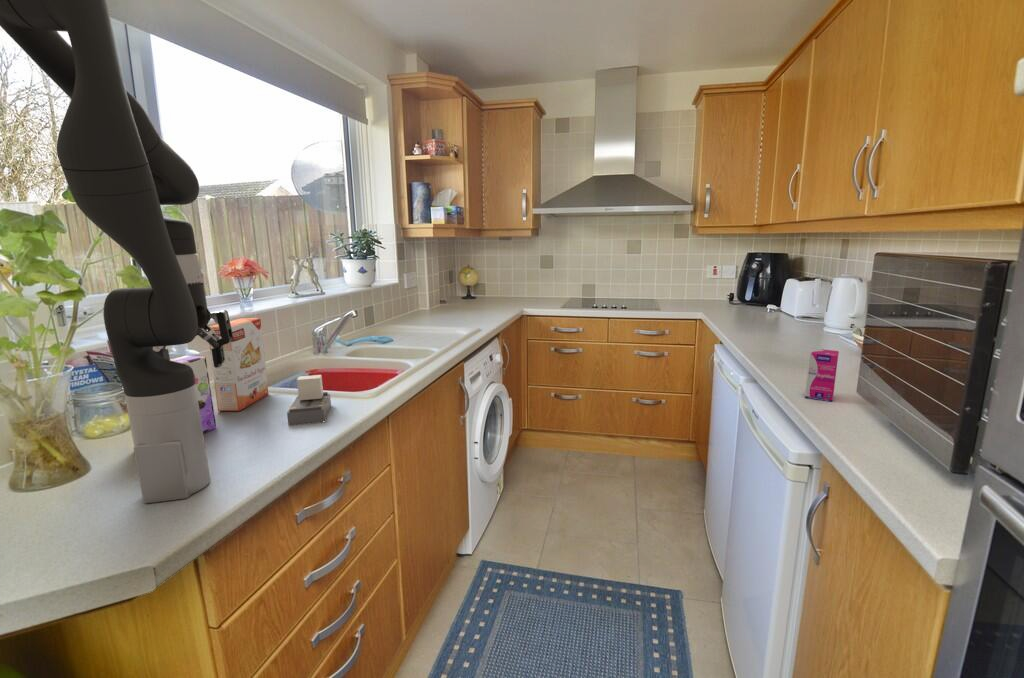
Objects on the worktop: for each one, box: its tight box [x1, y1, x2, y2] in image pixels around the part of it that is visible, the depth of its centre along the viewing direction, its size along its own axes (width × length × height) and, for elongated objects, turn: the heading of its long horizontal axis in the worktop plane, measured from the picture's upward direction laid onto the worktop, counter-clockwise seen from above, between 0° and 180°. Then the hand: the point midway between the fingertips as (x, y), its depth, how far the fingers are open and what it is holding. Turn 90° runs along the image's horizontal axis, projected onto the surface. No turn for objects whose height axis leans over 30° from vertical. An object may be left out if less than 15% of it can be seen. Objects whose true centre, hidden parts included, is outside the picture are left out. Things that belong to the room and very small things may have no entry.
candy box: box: [170, 355, 217, 434], centre depth 100 cm, size 14×6×16 cm, turn 161°
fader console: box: [286, 391, 332, 427], centre depth 114 cm, size 12×8×4 cm, turn 13°
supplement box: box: [804, 347, 840, 403], centre depth 118 cm, size 6×6×12 cm
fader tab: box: [296, 374, 324, 400], centre depth 116 cm, size 3×5×5 cm, turn 103°
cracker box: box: [207, 317, 269, 412], centre depth 122 cm, size 14×6×21 cm, turn 179°
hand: (193, 368), depth 90 cm, fingers open, 8 cm apart
